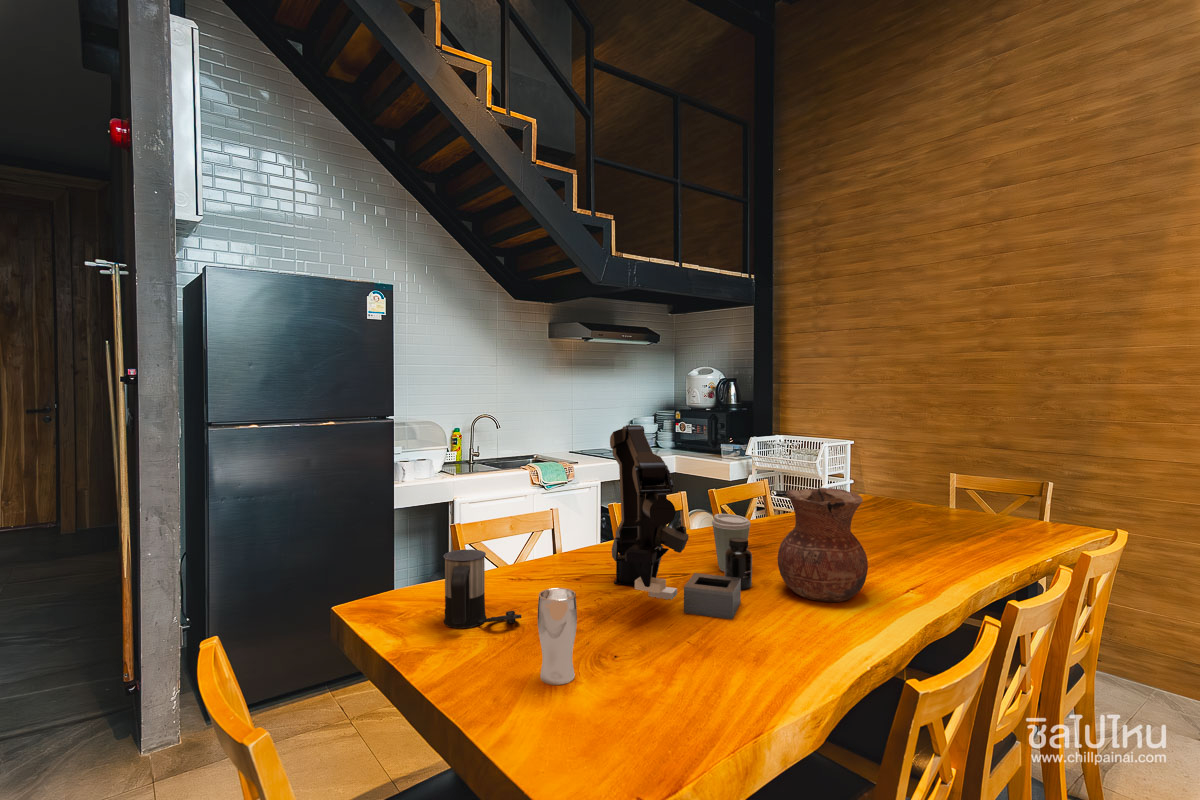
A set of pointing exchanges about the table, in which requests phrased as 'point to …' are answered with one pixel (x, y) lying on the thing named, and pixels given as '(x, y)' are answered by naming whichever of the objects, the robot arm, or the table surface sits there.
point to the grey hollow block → (712, 595)
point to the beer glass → (557, 634)
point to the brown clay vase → (823, 546)
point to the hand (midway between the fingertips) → (650, 583)
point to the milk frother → (467, 590)
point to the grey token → (665, 593)
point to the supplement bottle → (739, 561)
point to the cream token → (651, 585)
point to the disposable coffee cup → (728, 533)
